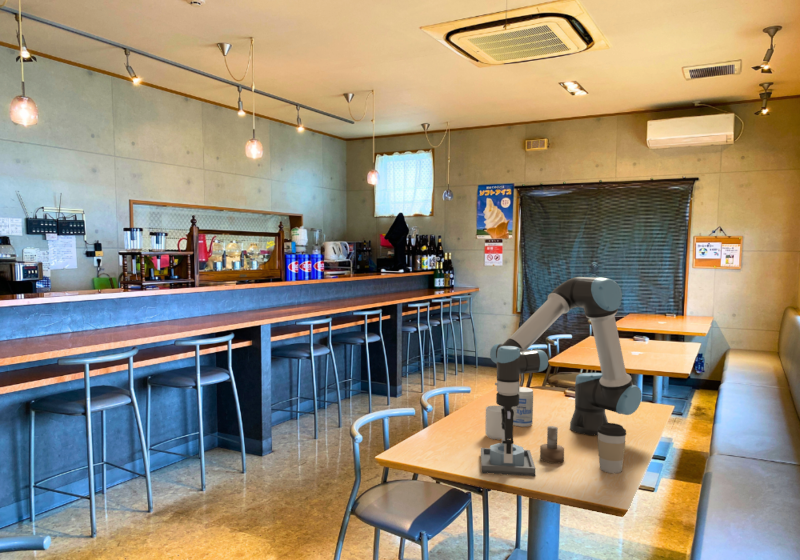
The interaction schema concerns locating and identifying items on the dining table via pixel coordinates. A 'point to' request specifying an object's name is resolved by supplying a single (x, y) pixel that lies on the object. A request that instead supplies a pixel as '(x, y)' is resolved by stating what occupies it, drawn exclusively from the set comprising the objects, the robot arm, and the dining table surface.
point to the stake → (552, 447)
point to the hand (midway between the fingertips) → (506, 455)
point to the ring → (498, 455)
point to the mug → (494, 422)
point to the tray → (526, 469)
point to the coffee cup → (611, 447)
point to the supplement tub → (524, 408)
